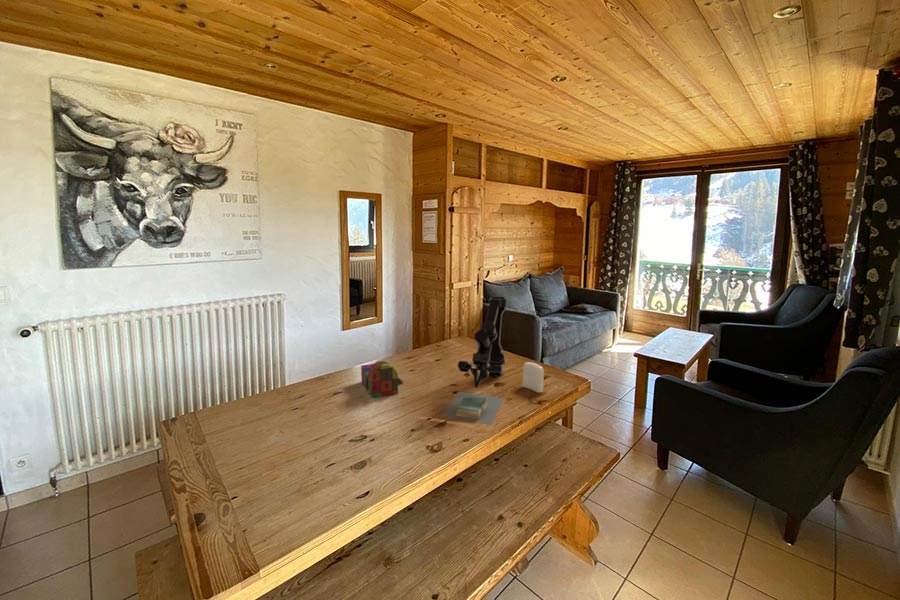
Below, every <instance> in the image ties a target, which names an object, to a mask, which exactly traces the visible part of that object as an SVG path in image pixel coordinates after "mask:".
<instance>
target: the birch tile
mask: <svg viewBox="0 0 900 600" xmlns="http://www.w3.org/2000/svg"><path fill="white" fill-rule="evenodd" d="M472 394H473V393H470V394H466V396H465V397H464V398H463V400H462V401H461V403H460V404H459V406H458V407H457V413H456V416H461V417H467V418H473V419H479V418H480V417H481V415H482V413H483V411H484V409H485V407H486V405H487V397H485V396H486V395H483V396H478V395H479V394H476V395H472Z"/></svg>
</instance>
